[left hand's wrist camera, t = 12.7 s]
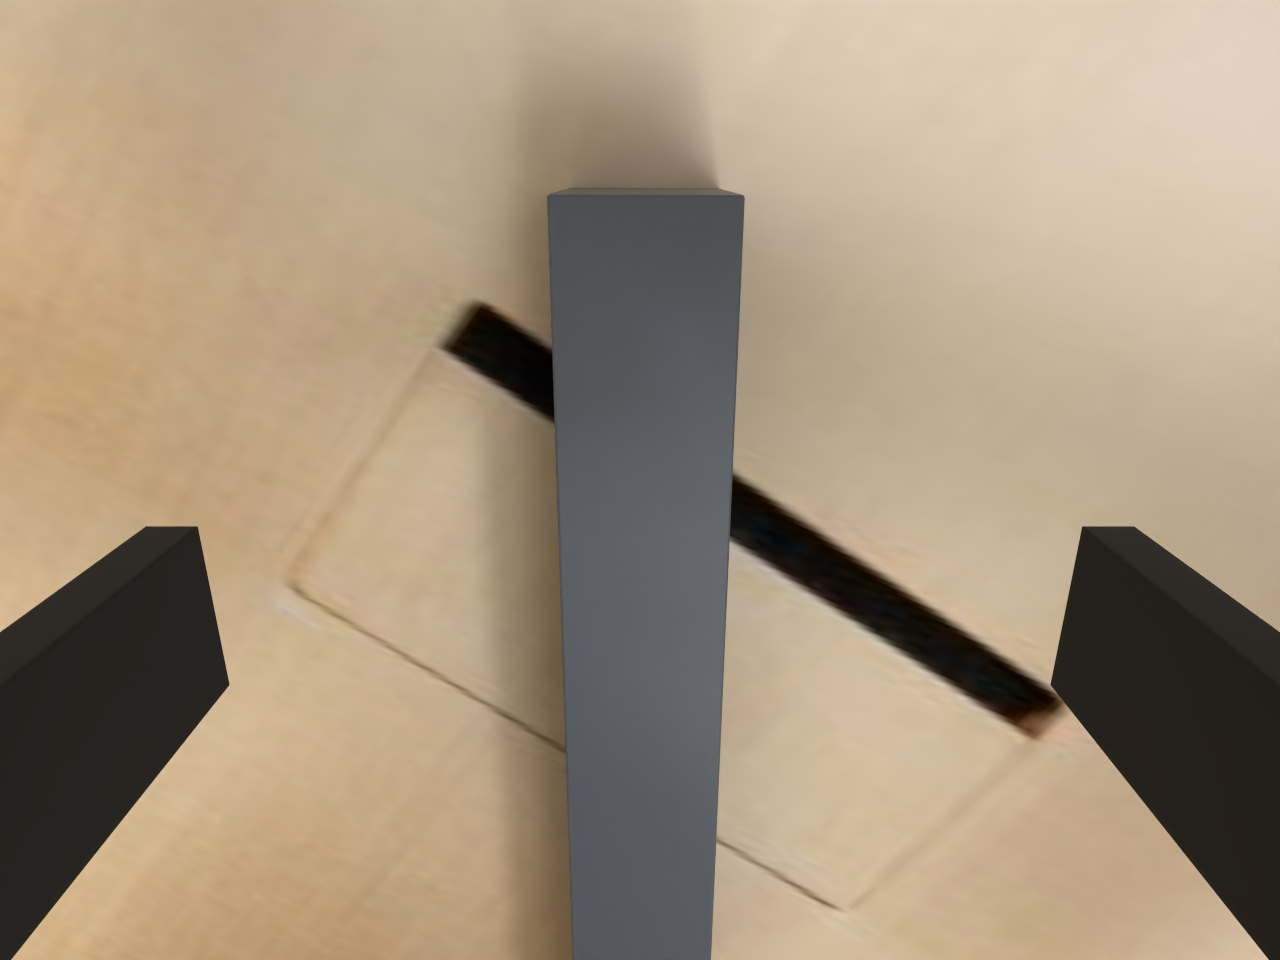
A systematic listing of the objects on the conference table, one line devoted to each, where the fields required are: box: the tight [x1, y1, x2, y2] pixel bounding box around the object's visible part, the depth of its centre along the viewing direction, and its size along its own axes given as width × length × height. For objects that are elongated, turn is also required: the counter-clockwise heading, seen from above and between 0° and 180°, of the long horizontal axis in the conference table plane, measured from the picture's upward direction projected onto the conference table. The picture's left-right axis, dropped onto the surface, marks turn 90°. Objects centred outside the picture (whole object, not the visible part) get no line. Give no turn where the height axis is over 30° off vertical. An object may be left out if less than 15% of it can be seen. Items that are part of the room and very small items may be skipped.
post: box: [547, 188, 745, 960], centre depth 37 cm, size 54×6×8 cm, turn 0°
